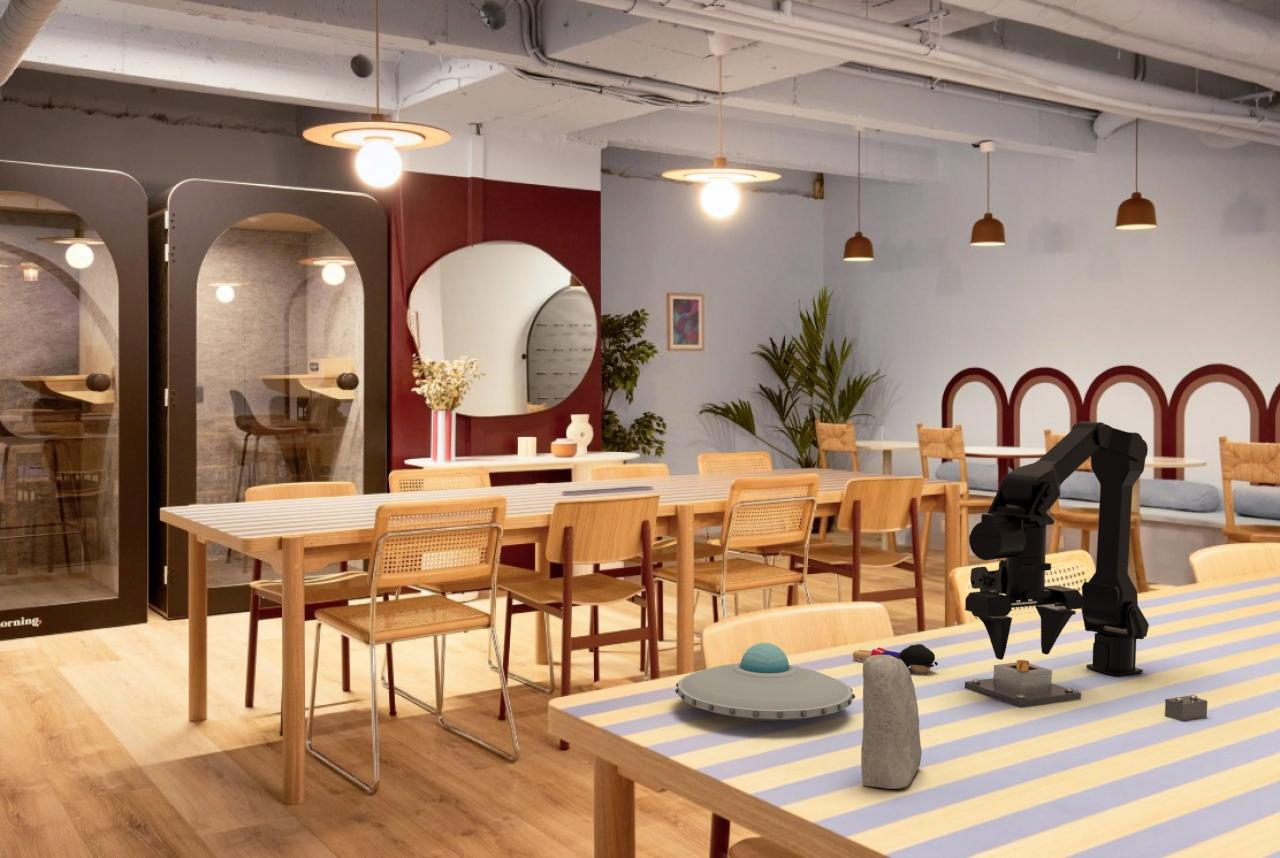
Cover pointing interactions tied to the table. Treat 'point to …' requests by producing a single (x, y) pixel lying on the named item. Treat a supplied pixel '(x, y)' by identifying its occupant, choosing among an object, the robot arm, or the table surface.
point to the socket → (1022, 678)
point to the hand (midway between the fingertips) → (1022, 656)
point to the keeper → (1024, 699)
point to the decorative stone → (889, 724)
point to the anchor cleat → (1186, 708)
